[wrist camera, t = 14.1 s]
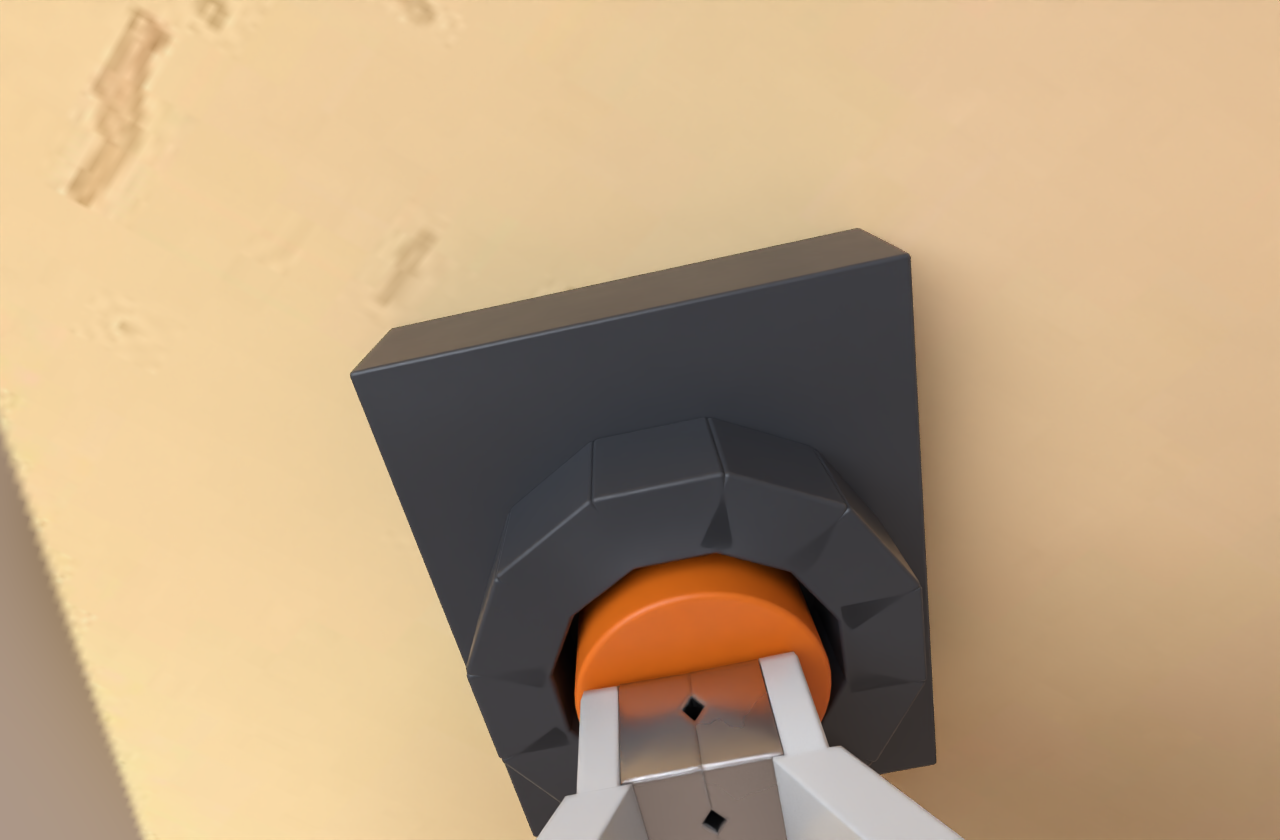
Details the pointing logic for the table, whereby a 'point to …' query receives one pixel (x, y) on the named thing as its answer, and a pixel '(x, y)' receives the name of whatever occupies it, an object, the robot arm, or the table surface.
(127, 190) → the table surface
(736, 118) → the table surface
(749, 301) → the button box
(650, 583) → the button
